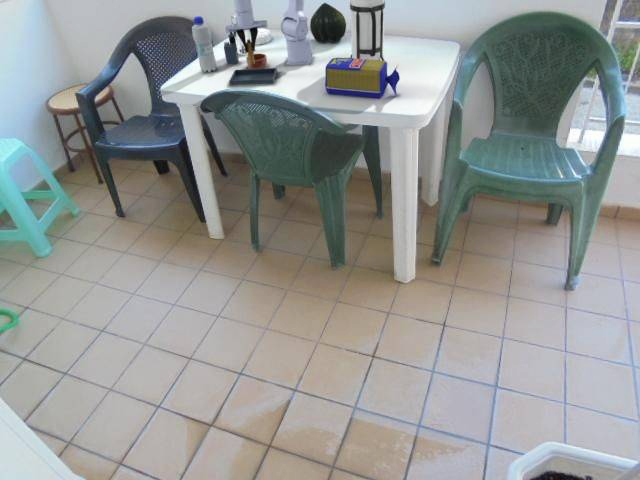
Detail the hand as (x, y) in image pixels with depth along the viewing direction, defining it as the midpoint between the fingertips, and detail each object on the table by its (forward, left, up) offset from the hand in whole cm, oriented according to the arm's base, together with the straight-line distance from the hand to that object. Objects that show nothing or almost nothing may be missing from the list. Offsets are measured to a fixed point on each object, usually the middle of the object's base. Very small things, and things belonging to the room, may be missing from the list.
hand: (250, 50), depth 174 cm
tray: (0, +1, -10) cm, 10 cm away
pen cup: (0, -11, -10) cm, 15 cm away
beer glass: (+8, -28, -10) cm, 31 cm away
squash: (-26, -39, -10) cm, 47 cm away
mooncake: (+5, -43, -10) cm, 44 cm away
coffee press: (-43, -12, -10) cm, 45 cm away
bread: (-40, +15, -10) cm, 44 cm away
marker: (0, 0, -5) cm, 5 cm away
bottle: (+19, -10, -10) cm, 24 cm away
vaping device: (+11, -16, -8) cm, 21 cm away
